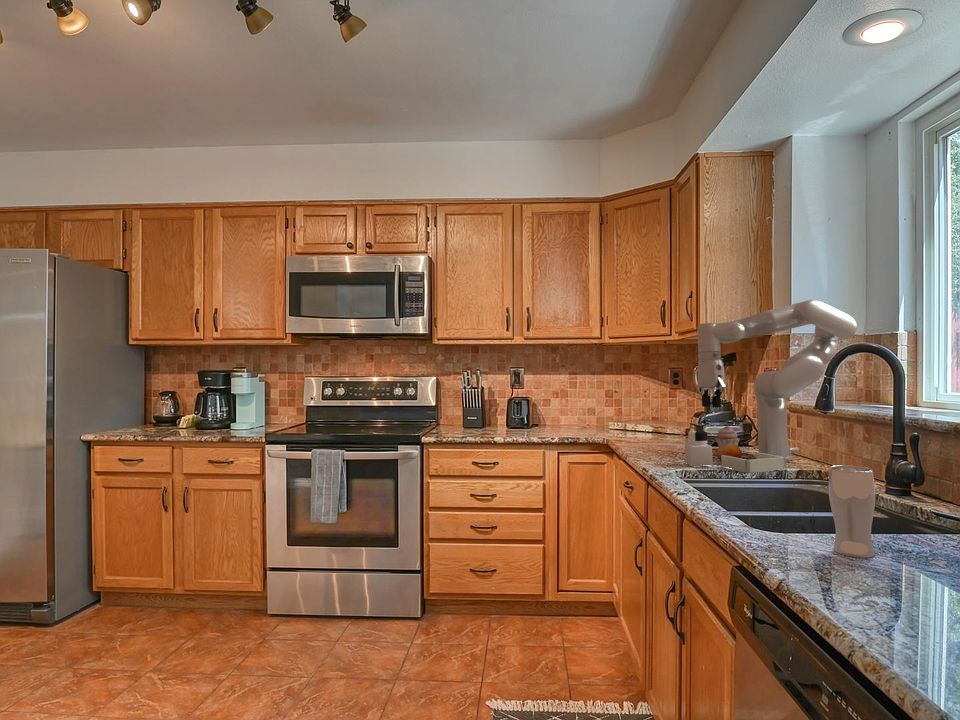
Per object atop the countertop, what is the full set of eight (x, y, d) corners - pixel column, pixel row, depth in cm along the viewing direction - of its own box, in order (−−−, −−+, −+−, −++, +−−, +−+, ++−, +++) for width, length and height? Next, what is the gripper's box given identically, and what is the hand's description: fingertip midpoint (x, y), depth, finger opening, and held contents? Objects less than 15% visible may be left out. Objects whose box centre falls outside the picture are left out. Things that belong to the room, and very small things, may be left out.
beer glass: (857, 561, 96) (853, 473, 96) (821, 549, 102) (818, 466, 103) (887, 556, 98) (884, 470, 98) (851, 544, 104) (847, 464, 105)
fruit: (749, 461, 189) (735, 441, 191) (728, 473, 191) (714, 452, 193) (746, 457, 197) (732, 438, 198) (725, 468, 199) (712, 449, 200)
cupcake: (712, 451, 224) (711, 426, 224) (719, 448, 231) (718, 424, 232) (736, 452, 218) (735, 427, 218) (743, 449, 225) (742, 425, 226)
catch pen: (759, 464, 192) (758, 452, 192) (786, 469, 180) (786, 457, 180) (721, 467, 188) (721, 455, 188) (747, 473, 176) (747, 460, 176)
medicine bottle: (706, 463, 195) (705, 429, 196) (712, 467, 188) (711, 431, 189) (685, 463, 196) (684, 429, 196) (690, 467, 189) (689, 431, 189)
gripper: (734, 355, 197) (736, 407, 196) (703, 357, 213) (705, 405, 213) (716, 356, 195) (718, 408, 194) (686, 357, 211) (688, 406, 211)
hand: (711, 406), depth 204 cm, fingers open, 4 cm apart
